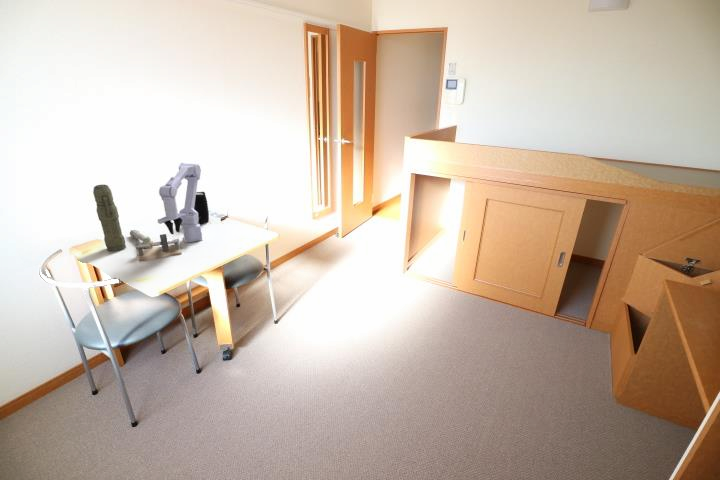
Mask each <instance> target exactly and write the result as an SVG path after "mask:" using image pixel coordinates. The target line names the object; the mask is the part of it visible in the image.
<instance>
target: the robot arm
mask: <svg viewBox="0 0 720 480" xmlns="http://www.w3.org/2000/svg"><path fill="white" fill-rule="evenodd" d="M201 171H202V169H201V166H200V165H199V163H185V162H181V163H179V165H178V171H177V173H176V174H175V176H171V177H170V178H169V180H168V181H167V182H166V183H165V184H164V185H162V186H160V187H159V189H158V194H159V197H160V198H161V200H162V202H163V207H164V212H165V216H164V217H161V218H159V219H157V223H158V224H159V225H161V224H164V225H165V226H166V227H167V228H166V229H168V231H169V233H170V234H171V235H174V233H175V232H176V233H180V231H181V230H180V229H181V227H182V231H183V237H182V239H183V242H184V243H185V244H186V243H192V242H199V241H200V242H201V241H203V234H202V228H201V224H200V223H198V222H199V218H198V212H197V211H196V210H194V206H195V198H196V192H197V189H198V181H199V180H200V178H201V173H202V172H201ZM183 180H187V186H186V193H185V198H184V199H185V200H184V208H182V209H181V210H179V212H178V205H177V201H176V196H177V195H178V189H179V188H180V186H182V181H183ZM174 227H175V228H174ZM174 229H175V232H174Z"/></svg>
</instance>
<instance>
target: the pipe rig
mask: <svg viewBox="0 0 720 480" xmlns="http://www.w3.org/2000/svg"><path fill="white" fill-rule="evenodd" d="M167 241H168V247H169V251H165V252H163V249H162V244H161V241H154V242H153V243H148V244H142V243H141V244H135V248H136V250H137V259H138V262H144V261H148V260H149V261H150V260H156V259H161V257H162V258H167V256H168V257H172V255H173V256H178V255H177V254H179V255H182V254H183V253H182V248H181V245H180V240H179V238H176V239H175V238H174V239H167ZM147 247H152V248H147ZM146 248H147V249H146Z"/></svg>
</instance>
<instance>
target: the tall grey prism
mask: <svg viewBox="0 0 720 480" xmlns="http://www.w3.org/2000/svg"><path fill="white" fill-rule="evenodd" d="M159 238H160V239H159V240H160V242H161V244H162V245H161V247H162V249H163V252H165V251H169V247H168V246H169V244H168V241H167V240H168V237H167V234H166V233H164V234H159Z"/></svg>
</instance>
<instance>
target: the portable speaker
mask: <svg viewBox="0 0 720 480" xmlns="http://www.w3.org/2000/svg"><path fill="white" fill-rule="evenodd" d="M194 210H196V211H197V212H198V218H199V222H198V224H200V223H203V224H207V223H209V222H210V214H209V205H208V199H207V196H206V192H205V191H196V198H195V206H194Z"/></svg>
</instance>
